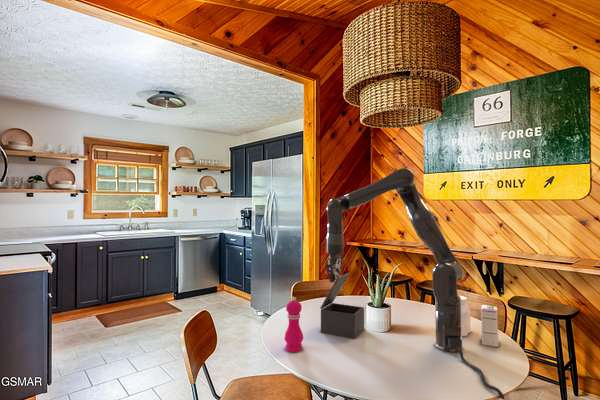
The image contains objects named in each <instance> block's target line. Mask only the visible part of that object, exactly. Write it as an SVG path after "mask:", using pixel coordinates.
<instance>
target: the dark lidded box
mask: <svg viewBox="0 0 600 400" xmlns="http://www.w3.org/2000/svg"><path fill="white" fill-rule="evenodd" d="M364 330H365V307H363V306H358V305H357V306H356V305H351V304H343V303H335V302H333V303H331V304H329V305H328V306H326V307H324V308H323V309H320V333H322V334H327V335H333V336H334V335H335V336H339V337H343V338H349V339H356V338H357V337H358V336H359V335H360V334H361V333H363V332H364Z"/></svg>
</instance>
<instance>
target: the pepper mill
mask: <svg viewBox="0 0 600 400" xmlns="http://www.w3.org/2000/svg"><path fill="white" fill-rule="evenodd" d="M302 309H303V307H302V304H301V302H299V301H298V300H297V298H296V297H295V296H292V297H291V300H290V301H288V302H287V303H286V306H285V311H286V312H287V319H288V326H287V329H286V331H285V333H284V341H285V342H286V344H285V350H286V352H289V353H298V352H301V351H302V350H303V343H302V342H303V341H304V334H303V330H302V329H301V327H300V318H301V312H302Z"/></svg>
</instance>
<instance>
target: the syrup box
mask: <svg viewBox="0 0 600 400" xmlns="http://www.w3.org/2000/svg"><path fill="white" fill-rule="evenodd" d="M480 319H481V320H480V321H481V344H482V345H484V346H489V347H495V348H499V316H498V306H495V305H489V304H488V305H487V304H481V307H480Z"/></svg>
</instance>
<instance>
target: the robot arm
mask: <svg viewBox="0 0 600 400" xmlns="http://www.w3.org/2000/svg"><path fill="white" fill-rule="evenodd" d="M390 191H396V192H397V194H398V196H399V198H400V199H401V201H402V203H403V205H404V206H405V209H406V212H407V216H408V218H409V220H410V223H411V226H412V227H413V230H414V232H415V233H416V235H417V237H418V239H419V240H420V241H421V242H422V243H423V245H424V246H426V247H427V249H428V250H429V251H430V252H431V253H432V255H433V257H434V259H435V261H436V265H435V266H434V267H433V268H432V269H433V270H432V276H431V277H432V293H433V296H434V300H435V301H434V302H435V303H434V305H435V311H434V313H435V316H434V317H435V347H436V348H437V349H439V350H440V351H443V352H445V353H459V355H460V356H459V357H460V359H461V361H462V362H463V363H464V364H465V365H466V366H467V367H470V368H471V369H473V370H475V371H476V372H478V374H479V375H480V379H481V382H482V384H483V385H484V387H486V388H488V389H490V390H493V391H495V392H496V393H497V394H498V395H499V397H500V399H502V400H505V399H506V397H505V395H504V394H503V392H502V391H501V390H500V388H498V387H496V386H494V385H491V384H490V383H488V382H487V381H486V378H485V375H484V373H483V371H482V370H481V369H480V368H479V367H477V366H475V365H473V364H471V363H470V362H468V361H467V360H466V358H465V357H464V354H463V351H462V349H463V339H462V336H461V298H460V296H461V295H460V296H459V294H458V284H459V283H461V282H462V280H463V278H464V270H463V268H462V265H461V264H460V262H459V261H458V258H456V256H455V254H454V253H453V251H452V249H451V248H450V246H449V245H448V243H447V240H446V238H445V236H444V234H443V231H442V230H441V228H440V226H439V224H438V222H437V220H436V218H435V216H434V214H433V212H432V211H431V210H430V208H429V207H428V206H427V205H426V203H425V202H424V200H423V199H422V197H421V195H420V193H419V191H418V188H417V185H416V182H415V174H414V172H413V171H412V170H411V169H409V168H407V167H401V168H398V169H396V170H394V171H393V172H391V173H389V174H388V175H386V176H384V177H383V178H380V179H378V180H377V181H374V182H372V183H370V184H368V185H366V186H363V187H361V188H358V189H355V190H353V191H350V192H349V193H347V194H345V195H341V196H340V197H337V198H332V199H330V200H329V201H328V202H327V205H326V215H327V234H326V254H327V255H329V259H326V261H325V262H326V272H327V273H328V274H329V280H328V281H329V282H330V283H335V281H336V279H335V272H338V273H339V275H340V274H341V273H340V272H341V270H342V269H343V263H344V262H343V261H344V256H342V255H343V254H344V247H345V246H344V245H345V244H344V240H345V239H344V221H343V213H344V212H347V211H349V210H351V209H354V208H357V207H360V206H362V205H365V204H367V203H369V202H371V201H373V200H375V199H377V198H379V197H380V196H381V195H383V194H386V193H388V192H390ZM340 276H341V275H340ZM336 277H337V278H338V276H336Z"/></svg>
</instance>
